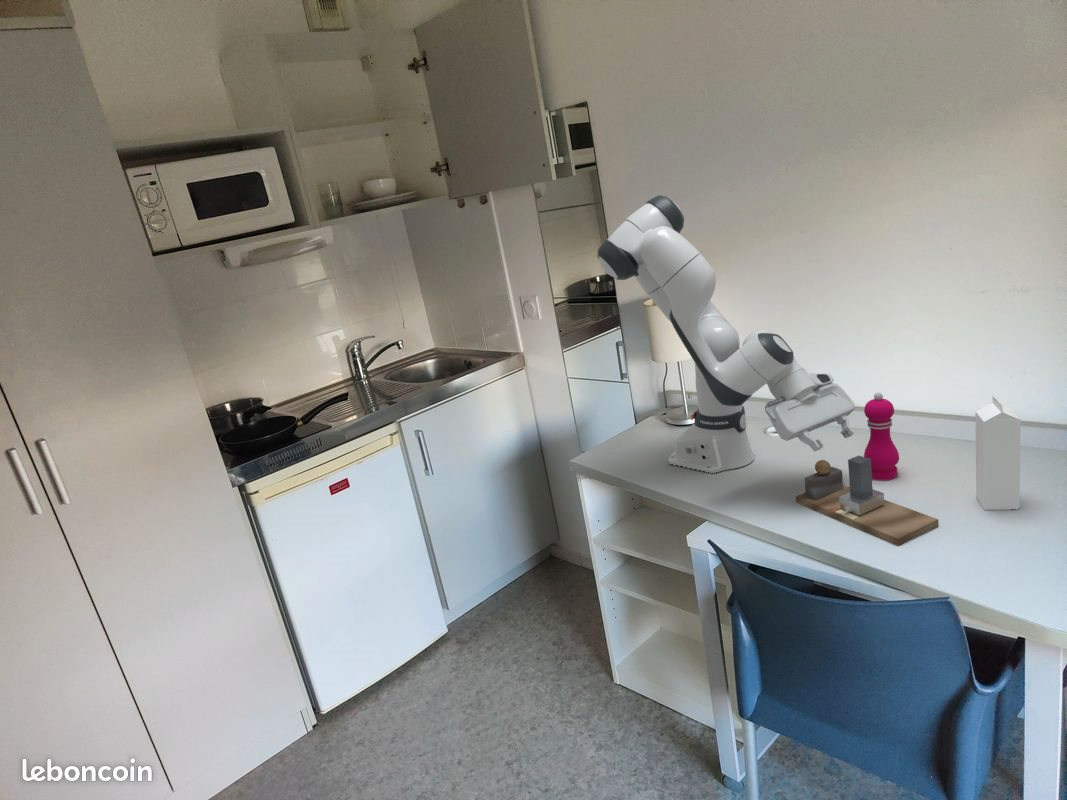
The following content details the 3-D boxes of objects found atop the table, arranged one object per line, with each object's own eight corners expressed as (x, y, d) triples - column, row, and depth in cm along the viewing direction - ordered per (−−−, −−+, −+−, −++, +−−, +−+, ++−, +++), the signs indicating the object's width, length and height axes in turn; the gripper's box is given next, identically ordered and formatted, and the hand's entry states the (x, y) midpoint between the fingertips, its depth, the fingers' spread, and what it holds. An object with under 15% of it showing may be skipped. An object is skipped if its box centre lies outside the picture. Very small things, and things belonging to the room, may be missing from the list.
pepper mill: (904, 479, 154) (900, 395, 148) (869, 482, 155) (864, 399, 150) (894, 467, 160) (891, 386, 155) (861, 469, 162) (856, 389, 157)
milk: (984, 510, 136) (983, 406, 130) (976, 497, 141) (975, 396, 135) (1019, 509, 134) (1020, 403, 128) (1009, 496, 139) (1010, 393, 133)
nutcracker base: (796, 502, 153) (792, 464, 150) (832, 486, 157) (830, 449, 154) (898, 545, 130) (896, 502, 127) (938, 526, 133) (937, 483, 131)
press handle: (836, 509, 143) (832, 463, 140) (864, 496, 146) (861, 451, 143) (855, 517, 139) (852, 469, 136) (884, 504, 142) (882, 457, 139)
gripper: (767, 397, 146) (807, 450, 140) (835, 371, 154) (875, 421, 148) (754, 412, 151) (792, 464, 145) (820, 387, 159) (858, 435, 153)
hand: (834, 442), depth 147 cm, fingers open, 8 cm apart
